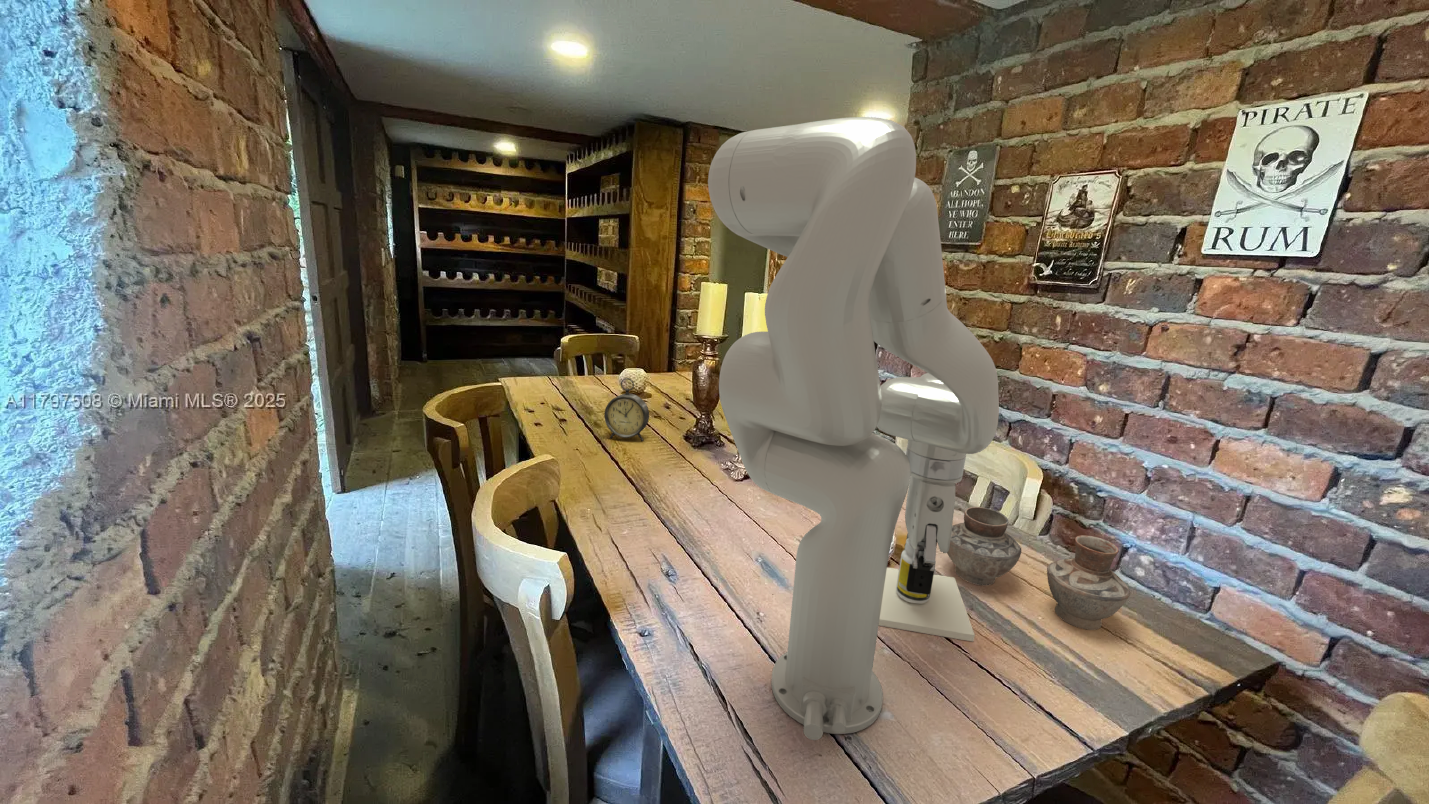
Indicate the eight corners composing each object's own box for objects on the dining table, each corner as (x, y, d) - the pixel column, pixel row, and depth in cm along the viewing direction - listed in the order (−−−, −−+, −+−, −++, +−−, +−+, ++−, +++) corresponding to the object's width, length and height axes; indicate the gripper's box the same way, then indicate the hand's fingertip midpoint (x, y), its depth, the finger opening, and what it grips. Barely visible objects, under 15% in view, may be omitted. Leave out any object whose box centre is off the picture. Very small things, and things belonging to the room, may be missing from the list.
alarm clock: (603, 439, 144) (603, 378, 140) (611, 433, 149) (610, 374, 145) (644, 444, 143) (645, 382, 138) (650, 437, 148) (651, 377, 143)
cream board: (973, 641, 74) (974, 635, 74) (865, 623, 77) (865, 616, 77) (953, 583, 87) (954, 577, 87) (861, 569, 90) (862, 563, 90)
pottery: (1111, 653, 73) (1133, 573, 70) (926, 574, 90) (937, 506, 87) (1126, 616, 81) (1146, 542, 78) (953, 550, 98) (964, 487, 95)
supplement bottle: (932, 607, 79) (941, 554, 77) (897, 601, 80) (905, 549, 78) (926, 588, 84) (935, 537, 81) (894, 583, 85) (901, 532, 82)
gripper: (977, 491, 68) (953, 621, 72) (951, 446, 84) (933, 554, 89) (912, 483, 69) (893, 611, 74) (899, 440, 85) (884, 547, 90)
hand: (915, 579), depth 81 cm, fingers open, 5 cm apart
